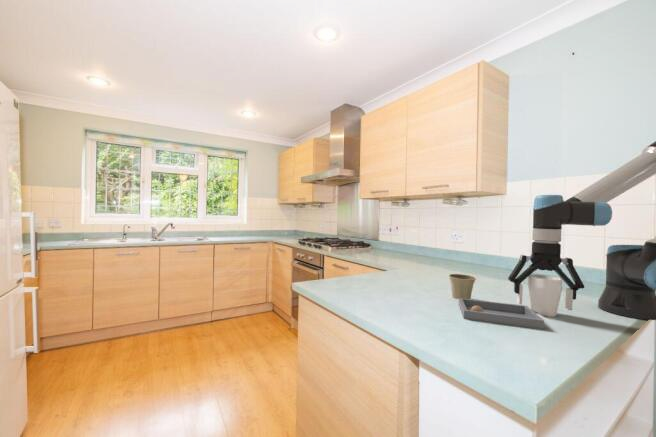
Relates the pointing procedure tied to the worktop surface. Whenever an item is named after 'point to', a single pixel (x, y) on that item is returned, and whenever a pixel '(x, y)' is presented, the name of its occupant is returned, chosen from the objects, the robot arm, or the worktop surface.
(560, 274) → the robot arm
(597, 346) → the worktop surface
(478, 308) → the ball
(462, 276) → the flower pot
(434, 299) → the worktop surface
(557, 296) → the cup
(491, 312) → the tray
